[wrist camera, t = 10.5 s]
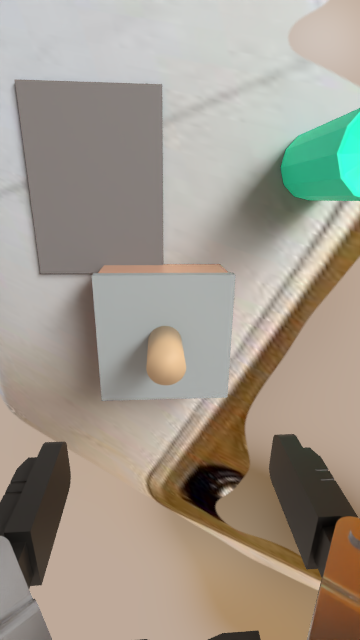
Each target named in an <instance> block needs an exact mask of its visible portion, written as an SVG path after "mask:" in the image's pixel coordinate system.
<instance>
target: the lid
mask: <svg viewBox="0 0 360 640" xmlns="http://www.w3.org/2000/svg"><path fill="white" fill-rule="evenodd" d="M235 276H236V275H235V274H234V273H93V275H92V288H93V300H94V312H95V325H96V337H97V349H98V362H99V374H100V386H101V398H102V401H113V400H149V399H186V398H222V397H227V393H228V379H229V364H230V349H231V334H232V320H233V305H234V290H235Z"/></svg>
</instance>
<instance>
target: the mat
mask: <svg viewBox="0 0 360 640" xmlns="http://www.w3.org/2000/svg"><path fill="white" fill-rule="evenodd" d="M15 86H16V94H17V101H18V109H19V116H20V124H21V131H22V139H23V146H24V154H25V161H26V169H27V176H28V183H29V191H30V198H31V206H32V213H33V221H34V228H35V236H36V243H37V251H38V258H39V266H40V273H98V272H99V271H100V270H101V269H102V267H103V266H104V265H163V153H162V84H132V83H102V82H72V81H42V80H15Z"/></svg>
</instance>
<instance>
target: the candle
mask: <svg viewBox="0 0 360 640" xmlns="http://www.w3.org/2000/svg"><path fill="white" fill-rule="evenodd" d="M281 173H282V179H283V184H284V186H285V187H286V188H287V189H288V190H289V191H290V193H291V194H292V195H293V196H294V197H298V198H302V199H306V200H330V201H360V108H359V109H357V110H355V111H352V112H350V113H348V114H346V115H343V116H341V117H339V118H337V119H335V120H332V121H330V122H328V123H326V124H323V125H321V126H319V127H317V128H315V129H312V130H310V131H308V132H306V133H303V134H301V135H299V136H298V137H297V138H296V139H295V140H294V141H293V142H292V143H291V144H290V146H289V147H288V148H287V149H286V150H285V154H284V157H283V161H282V164H281Z"/></svg>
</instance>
